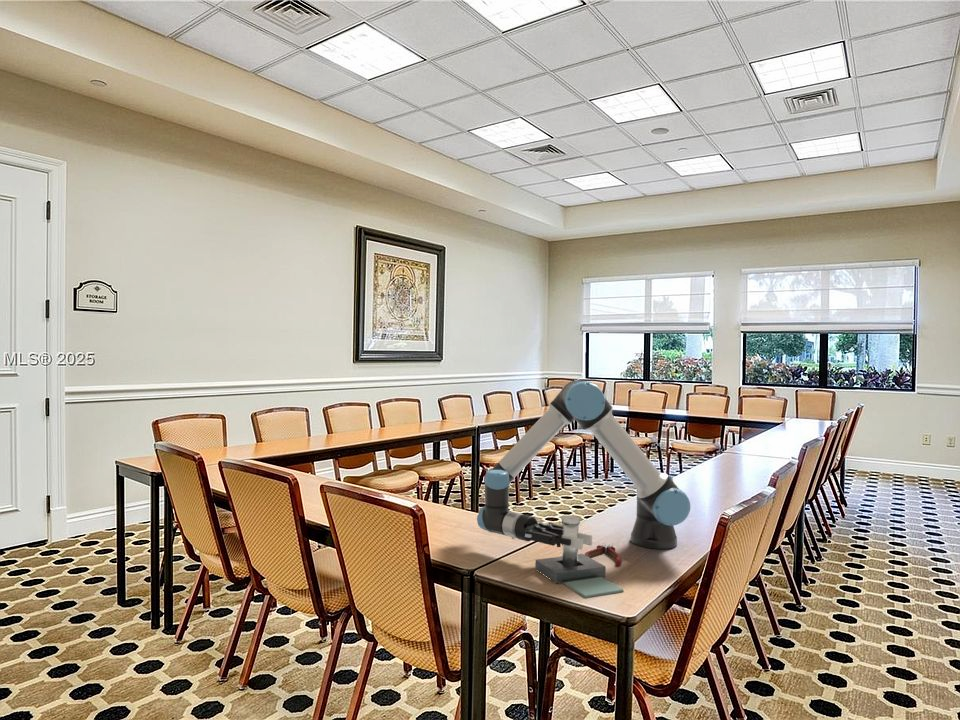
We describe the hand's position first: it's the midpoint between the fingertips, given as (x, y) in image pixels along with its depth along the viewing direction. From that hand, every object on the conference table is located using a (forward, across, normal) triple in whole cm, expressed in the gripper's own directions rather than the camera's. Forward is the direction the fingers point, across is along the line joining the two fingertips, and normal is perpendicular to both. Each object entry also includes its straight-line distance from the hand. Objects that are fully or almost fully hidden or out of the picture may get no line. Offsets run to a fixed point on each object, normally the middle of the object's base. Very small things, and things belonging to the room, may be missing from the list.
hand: (586, 542), depth 174 cm
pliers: (-5, -22, -11) cm, 25 cm away
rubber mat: (+6, +5, -10) cm, 13 cm away
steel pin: (-5, 0, -9) cm, 10 cm away
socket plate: (-5, 0, -10) cm, 11 cm away
